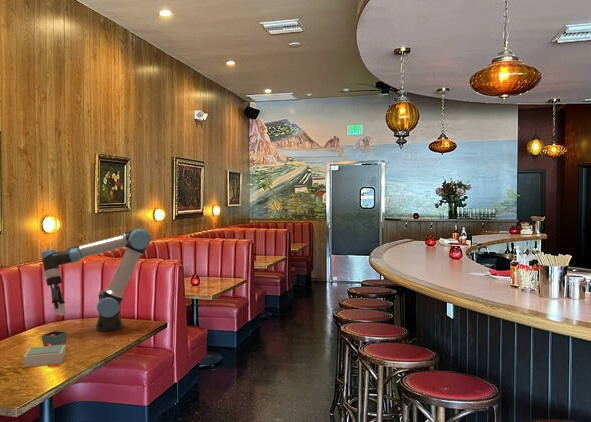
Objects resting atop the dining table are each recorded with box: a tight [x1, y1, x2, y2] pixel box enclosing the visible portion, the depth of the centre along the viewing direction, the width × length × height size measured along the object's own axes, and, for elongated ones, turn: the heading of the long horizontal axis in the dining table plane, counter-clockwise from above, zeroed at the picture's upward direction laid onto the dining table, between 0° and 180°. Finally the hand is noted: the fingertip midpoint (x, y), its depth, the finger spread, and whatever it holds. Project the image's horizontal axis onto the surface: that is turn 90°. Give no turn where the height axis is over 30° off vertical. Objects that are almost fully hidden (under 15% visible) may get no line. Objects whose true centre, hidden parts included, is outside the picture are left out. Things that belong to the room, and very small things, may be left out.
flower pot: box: [40, 330, 68, 346], centre depth 249 cm, size 9×9×9 cm
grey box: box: [23, 344, 66, 368], centre depth 233 cm, size 16×14×6 cm
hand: (60, 315), depth 264 cm, fingers open, 13 cm apart
